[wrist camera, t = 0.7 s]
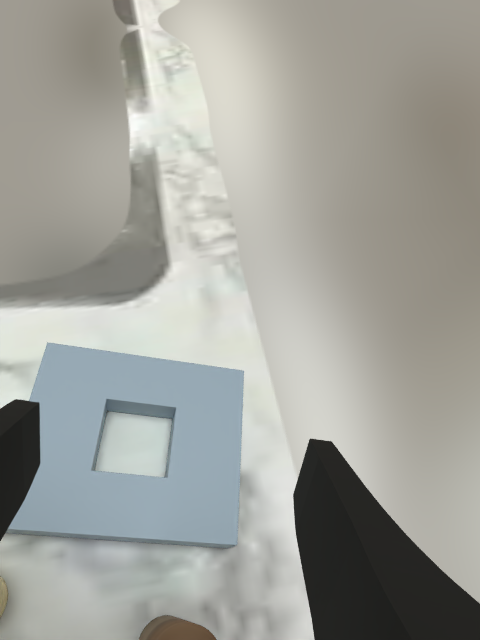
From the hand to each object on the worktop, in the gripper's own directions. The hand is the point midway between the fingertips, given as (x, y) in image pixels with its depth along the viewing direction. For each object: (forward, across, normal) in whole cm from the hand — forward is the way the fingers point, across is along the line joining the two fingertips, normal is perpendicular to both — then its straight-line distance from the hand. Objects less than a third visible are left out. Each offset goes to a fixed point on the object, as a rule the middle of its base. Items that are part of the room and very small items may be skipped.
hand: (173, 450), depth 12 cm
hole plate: (+12, +3, +10) cm, 16 cm away
